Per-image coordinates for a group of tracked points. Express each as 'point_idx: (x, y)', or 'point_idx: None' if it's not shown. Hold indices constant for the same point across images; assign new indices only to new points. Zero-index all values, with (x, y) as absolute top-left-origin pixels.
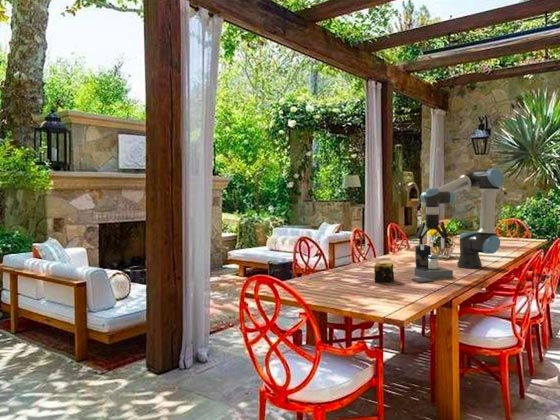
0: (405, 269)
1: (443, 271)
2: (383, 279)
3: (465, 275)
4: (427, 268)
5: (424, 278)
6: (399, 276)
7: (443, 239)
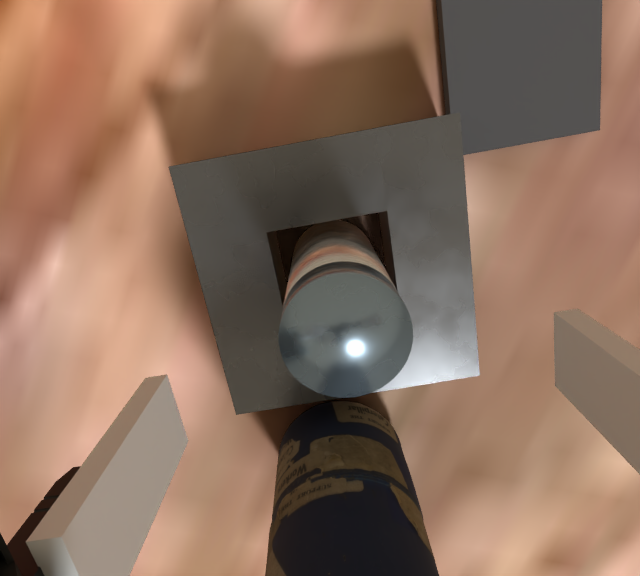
0: None
1: (278, 146)
2: None
3: (45, 255)
4: None
5: (484, 108)
6: None
7: (73, 510)
